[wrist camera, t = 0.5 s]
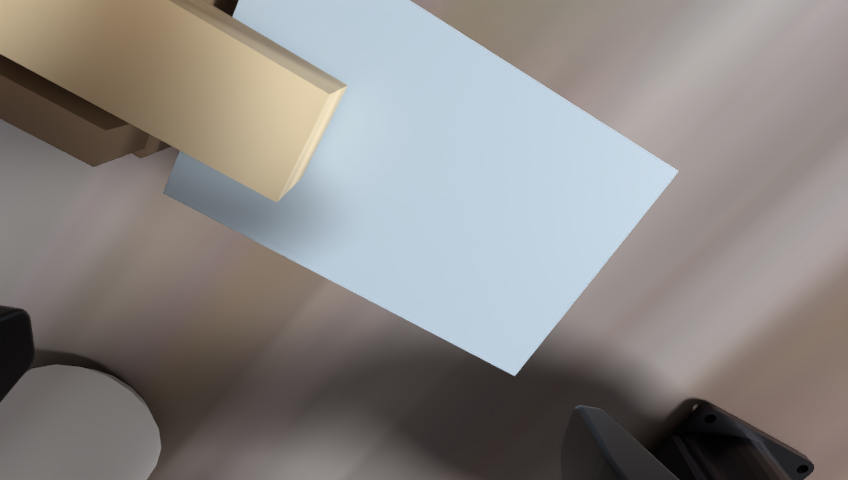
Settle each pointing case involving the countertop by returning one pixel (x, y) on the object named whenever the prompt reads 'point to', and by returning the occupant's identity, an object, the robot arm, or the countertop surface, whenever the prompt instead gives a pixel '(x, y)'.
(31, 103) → the chisel box
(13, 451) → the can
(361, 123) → the lid
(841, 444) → the countertop surface
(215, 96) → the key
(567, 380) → the countertop surface
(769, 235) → the countertop surface
